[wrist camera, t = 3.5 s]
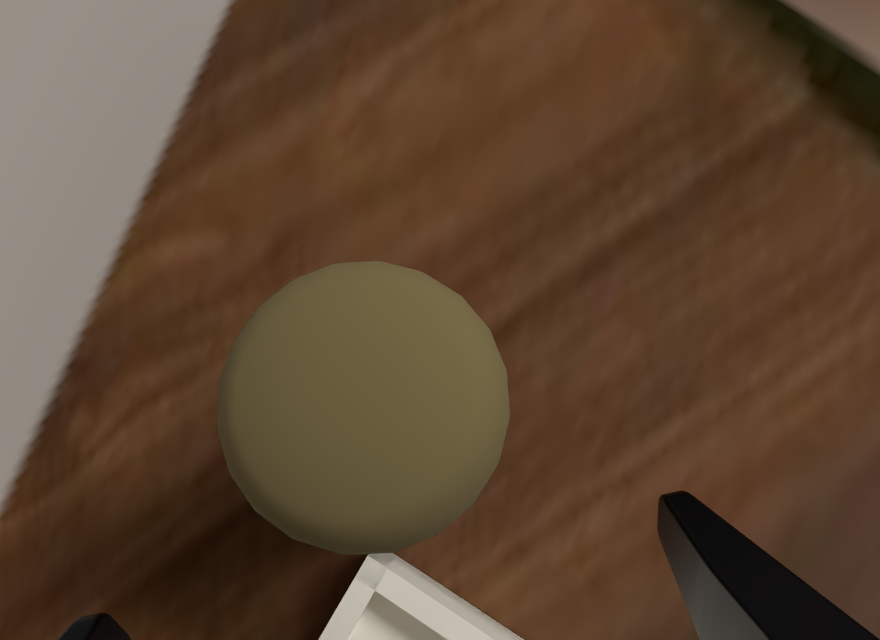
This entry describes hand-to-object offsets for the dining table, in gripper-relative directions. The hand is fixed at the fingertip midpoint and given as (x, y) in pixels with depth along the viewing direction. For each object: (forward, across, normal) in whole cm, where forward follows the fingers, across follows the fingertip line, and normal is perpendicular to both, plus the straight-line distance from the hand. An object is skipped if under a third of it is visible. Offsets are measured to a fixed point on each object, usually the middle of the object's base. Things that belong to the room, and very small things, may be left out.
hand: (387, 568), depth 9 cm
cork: (+9, 0, +5) cm, 11 cm away
